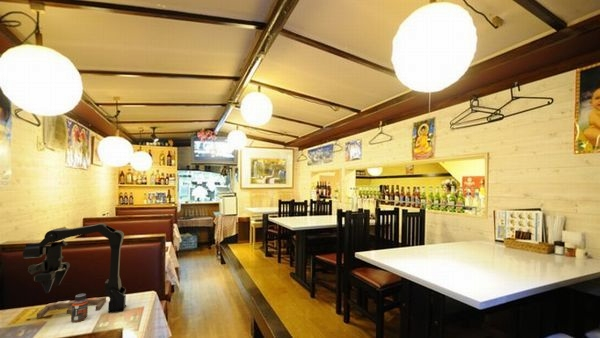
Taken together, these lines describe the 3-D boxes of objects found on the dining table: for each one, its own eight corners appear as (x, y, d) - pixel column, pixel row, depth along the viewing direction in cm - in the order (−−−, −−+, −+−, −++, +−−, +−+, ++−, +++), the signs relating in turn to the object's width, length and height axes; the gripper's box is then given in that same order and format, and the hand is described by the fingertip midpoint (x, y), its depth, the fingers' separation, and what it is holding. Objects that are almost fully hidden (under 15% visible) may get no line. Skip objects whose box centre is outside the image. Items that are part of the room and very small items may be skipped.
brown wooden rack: (105, 301, 148) (106, 296, 148) (99, 310, 138) (99, 304, 138) (48, 308, 140) (48, 302, 140) (36, 318, 130) (36, 311, 130)
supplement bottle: (78, 323, 125) (79, 298, 126) (67, 322, 126) (68, 297, 127) (90, 317, 131) (91, 293, 132) (80, 315, 132) (81, 292, 133)
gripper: (43, 252, 136) (42, 284, 135) (19, 263, 118) (17, 299, 118) (70, 250, 140) (69, 281, 139) (51, 260, 122) (50, 296, 121)
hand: (52, 289), depth 129 cm, fingers open, 9 cm apart
